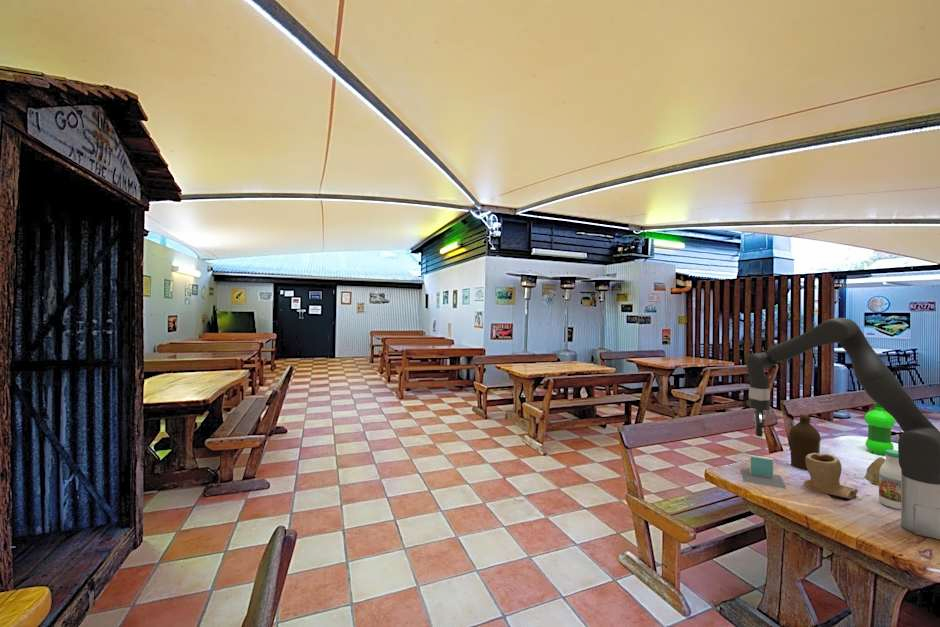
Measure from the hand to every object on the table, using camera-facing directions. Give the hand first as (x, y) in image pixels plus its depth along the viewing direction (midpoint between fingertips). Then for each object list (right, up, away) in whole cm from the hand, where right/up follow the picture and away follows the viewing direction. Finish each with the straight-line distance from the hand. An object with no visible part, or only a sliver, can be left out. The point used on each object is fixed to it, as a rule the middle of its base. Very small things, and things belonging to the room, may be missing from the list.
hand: (759, 436), depth 171 cm
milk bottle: (+28, -16, -29) cm, 44 cm away
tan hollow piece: (+12, -16, -20) cm, 29 cm away
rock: (+41, -16, -9) cm, 45 cm away
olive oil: (+22, -16, +2) cm, 28 cm away
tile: (-4, -15, -7) cm, 17 cm away
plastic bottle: (+75, -15, +20) cm, 79 cm away
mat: (-6, -16, -9) cm, 19 cm away
